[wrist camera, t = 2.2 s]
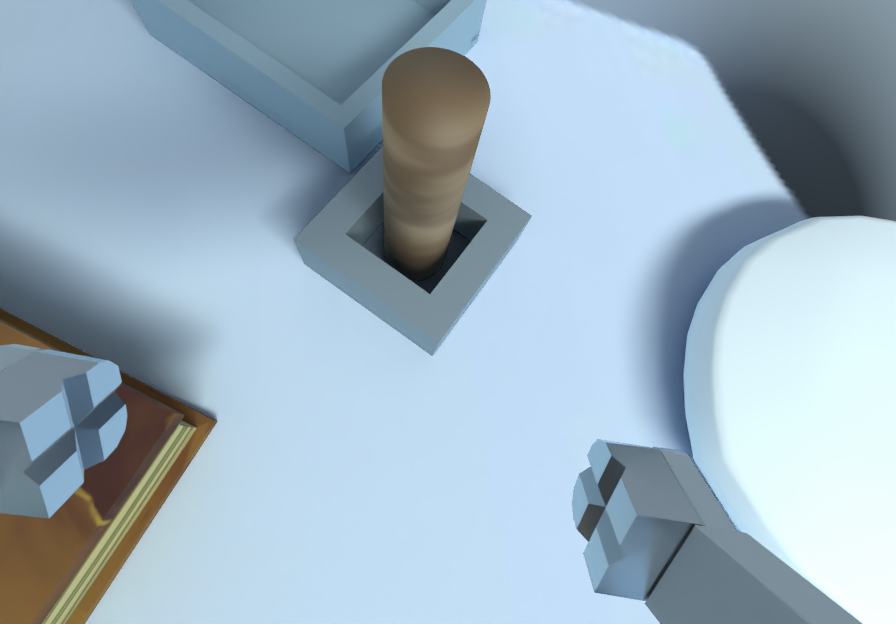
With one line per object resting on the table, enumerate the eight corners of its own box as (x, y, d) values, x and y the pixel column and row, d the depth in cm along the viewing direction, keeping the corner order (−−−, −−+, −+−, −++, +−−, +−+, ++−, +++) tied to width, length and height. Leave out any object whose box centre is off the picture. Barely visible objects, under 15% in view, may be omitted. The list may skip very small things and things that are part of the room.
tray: (149, 34, 32) (113, -30, 28) (300, -74, 37) (289, -143, 33) (350, 173, 31) (344, 128, 26) (477, 41, 36) (489, -14, 32)
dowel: (372, 256, 29) (358, 92, 16) (408, 214, 30) (424, 30, 17) (421, 292, 29) (450, 155, 16) (456, 247, 30) (510, 86, 17)
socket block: (304, 263, 28) (293, 238, 25) (399, 161, 32) (401, 127, 28) (432, 356, 28) (438, 342, 24) (516, 241, 31) (531, 215, 27)
